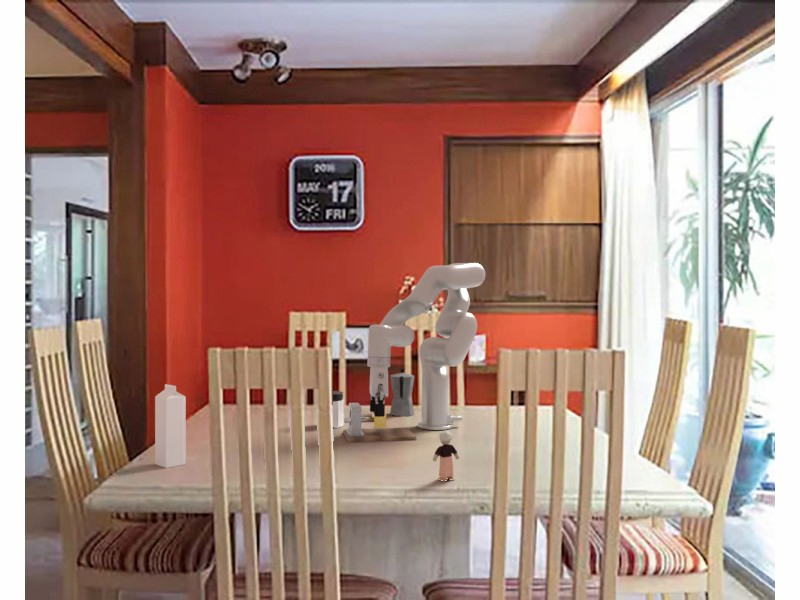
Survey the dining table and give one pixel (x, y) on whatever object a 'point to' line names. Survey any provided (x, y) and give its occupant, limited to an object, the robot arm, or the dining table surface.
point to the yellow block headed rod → (372, 420)
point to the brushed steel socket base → (355, 421)
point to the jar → (338, 409)
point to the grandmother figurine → (445, 456)
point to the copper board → (382, 435)
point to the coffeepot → (402, 394)
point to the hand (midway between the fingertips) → (377, 414)
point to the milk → (170, 428)
